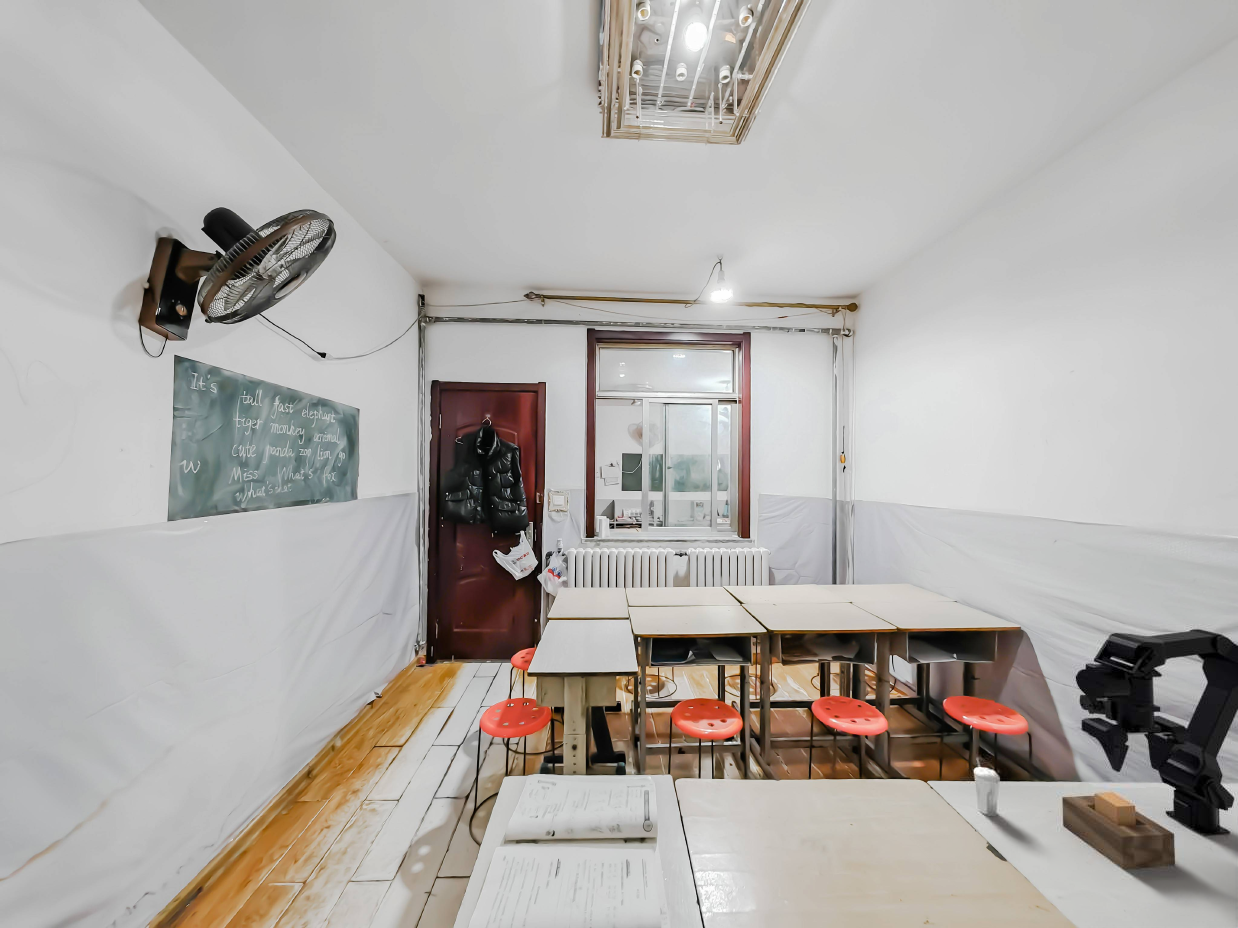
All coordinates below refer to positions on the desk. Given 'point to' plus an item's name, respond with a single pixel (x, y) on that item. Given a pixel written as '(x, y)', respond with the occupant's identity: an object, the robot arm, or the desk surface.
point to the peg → (1115, 809)
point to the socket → (1119, 835)
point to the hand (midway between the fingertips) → (1135, 769)
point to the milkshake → (986, 789)
